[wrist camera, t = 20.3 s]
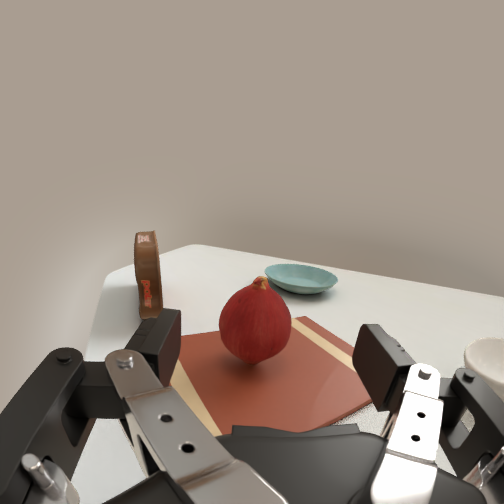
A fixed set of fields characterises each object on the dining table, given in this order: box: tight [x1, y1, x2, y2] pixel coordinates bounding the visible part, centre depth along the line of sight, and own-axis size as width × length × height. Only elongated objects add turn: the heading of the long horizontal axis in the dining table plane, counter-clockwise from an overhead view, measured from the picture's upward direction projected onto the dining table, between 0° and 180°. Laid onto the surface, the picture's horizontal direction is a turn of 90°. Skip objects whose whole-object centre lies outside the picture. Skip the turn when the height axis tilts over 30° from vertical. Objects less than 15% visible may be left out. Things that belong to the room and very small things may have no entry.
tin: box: [134, 231, 163, 319], centre depth 33 cm, size 15×3×8 cm, turn 21°
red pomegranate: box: [219, 276, 292, 365], centre depth 23 cm, size 6×6×8 cm
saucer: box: [265, 264, 338, 294], centre depth 46 cm, size 12×12×2 cm
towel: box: [169, 316, 372, 437], centre depth 23 cm, size 20×15×1 cm
